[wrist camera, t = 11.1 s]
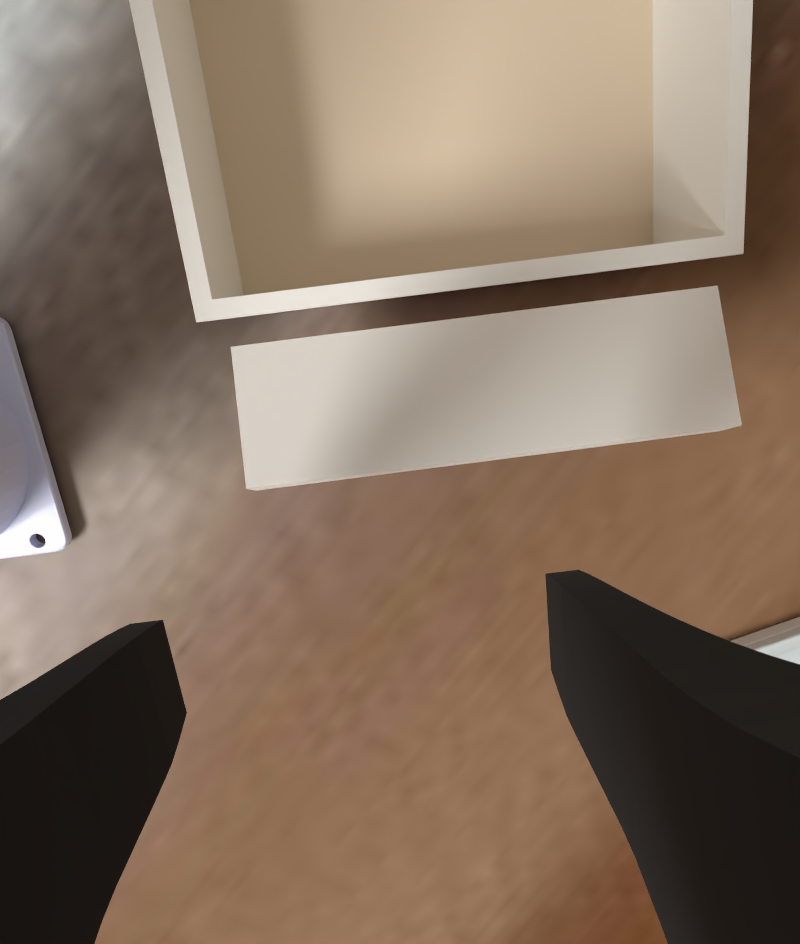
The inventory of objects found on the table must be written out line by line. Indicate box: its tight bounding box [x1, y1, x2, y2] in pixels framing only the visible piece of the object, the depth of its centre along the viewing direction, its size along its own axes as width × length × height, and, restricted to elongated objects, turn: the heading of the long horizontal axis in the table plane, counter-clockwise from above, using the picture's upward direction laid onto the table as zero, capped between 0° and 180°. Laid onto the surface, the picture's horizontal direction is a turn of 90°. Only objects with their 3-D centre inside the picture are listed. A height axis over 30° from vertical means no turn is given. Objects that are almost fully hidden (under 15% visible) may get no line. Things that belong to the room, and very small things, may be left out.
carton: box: [129, 0, 753, 322], centre depth 16 cm, size 14×12×4 cm
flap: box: [231, 286, 742, 490], centre depth 15 cm, size 12×4×1 cm, turn 97°
